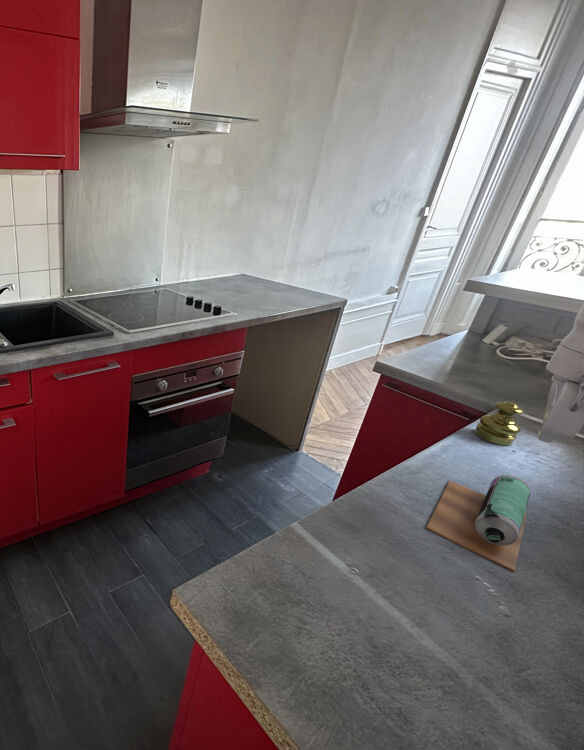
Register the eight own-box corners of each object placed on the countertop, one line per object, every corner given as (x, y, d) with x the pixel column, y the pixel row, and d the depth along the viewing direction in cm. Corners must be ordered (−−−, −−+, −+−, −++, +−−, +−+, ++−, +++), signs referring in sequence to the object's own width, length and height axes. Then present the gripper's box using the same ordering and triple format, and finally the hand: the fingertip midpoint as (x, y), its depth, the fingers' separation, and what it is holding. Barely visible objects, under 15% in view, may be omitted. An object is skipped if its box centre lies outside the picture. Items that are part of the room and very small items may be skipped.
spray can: (483, 481, 85) (462, 529, 73) (512, 470, 81) (495, 518, 69) (507, 504, 83) (490, 557, 71) (539, 494, 79) (526, 548, 67)
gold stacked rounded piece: (466, 427, 107) (484, 394, 103) (497, 430, 107) (516, 397, 102) (487, 444, 101) (507, 409, 96) (520, 447, 100) (542, 412, 96)
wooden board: (448, 481, 88) (449, 480, 88) (526, 514, 80) (527, 512, 80) (425, 528, 76) (426, 526, 76) (513, 572, 68) (515, 570, 68)
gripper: (621, 394, 58) (567, 471, 64) (617, 358, 70) (572, 426, 77) (558, 378, 62) (513, 452, 68) (564, 347, 75) (525, 412, 81)
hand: (544, 438), depth 73 cm, fingers closed
